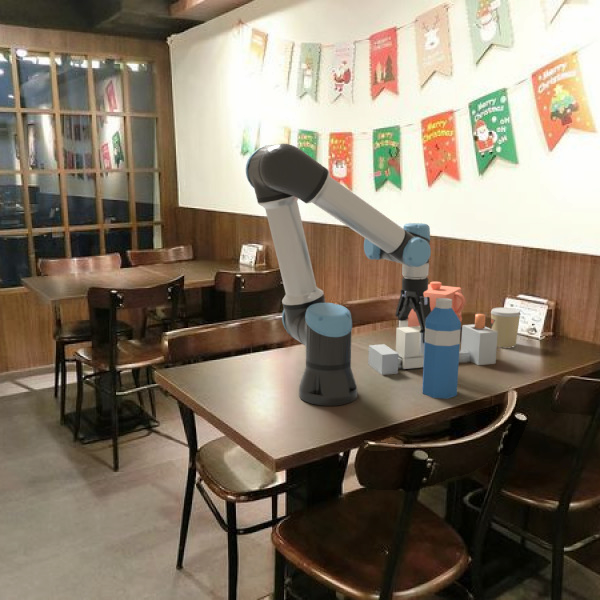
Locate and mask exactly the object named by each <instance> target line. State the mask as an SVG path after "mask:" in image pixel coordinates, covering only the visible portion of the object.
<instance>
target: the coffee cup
mask: <svg viewBox="0 0 600 600" xmlns="http://www.w3.org/2000/svg"><path fill="white" fill-rule="evenodd" d="M520 311H521V310H519V309H516V308H513V307H494V308H492V309H491V311H490V314H491V316H490V317H491V318H490V319H491V320H490V324H491V325H490V326H491V327H490V329H492V330H495V331H497V332H498V335H497V346H500V347H512V346H515V347H516V345H517V344H516V343H517V338H518V333H519V332H518V331H519V325H520V317H521V312H520ZM500 347H499V348H500Z"/></svg>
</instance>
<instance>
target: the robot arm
mask: <svg viewBox="0 0 600 600" xmlns="http://www.w3.org/2000/svg"><path fill="white" fill-rule="evenodd" d="M245 175H246V176H245V177H246V178H247V179H246V180H247V181H248V183H249V184H250V186H251V187H252V188H253V190H254V193H255V197H256V200H257V204H258V205H260V206H261V207H263V208H264V210H265V213H266V217H267V221H268V225H269V229H270V234H271V239H272V242H273V247H274V251H275V255H276V259H277V264H278V267H279V268H278V269H279V270H280V275H281V280H282V283H283V288H284V292H285V295H284V297H283V298H282V300H281V302H282V303H281V304H282V306H283V310H282V314H281V319H282V320H281V321H282V325H283V327H284V329H285V330H286V333H287V334H288V335H289V336H290V337H291V338H292V339H295V340H296V341H298V342H299V343H301V344H302V345H303V346H305V368H304V371H303V372H302V373H303V374H302V377H301V379H300V383H299V386H298V396H299V398H300V399H301V400H302V401H303V402H306V403H308V404H311V405H317V406H324V407H325V406H326V407H331V406H332V407H333V406H342V405H347V404H349V403H352V402H354V401H355V400H356V399H357V398H358V386H357V384H356V379H355V376H354V374H353V370H352V336H353V335H352V333H353V332H352V330H353V319H352V313H351V311H350V310H349V309H348V308H347V307H345V306H343V305H341V304H336V303H332V302H327V301H326V297H325V293H324V290H323V289H321V288H319V287H318V286H317V283H316V279H315V274H314V270H313V265H312V261H311V256H310V252H309V248H308V242H307V239H306V234H305V230H304V226H303V221H302V216H301V213H300V207H299V203H298V200H300V201H302V202H303V203H304V204H311V203H312V204H314V205H315V206H316V207H318V208H320V209H321V210H322V211H323V212H325V213H327V214H329V215H330V216H331V217H333V218H334V219H336V220H337V221H339V222H340V223H341V224H343V225H345V226H346V227H348V228H349V229H351V230H352V231H354V232H355V233H356V234H358V235H360V236H361V237H363V238H364V241H363V251H364V255H365V256H366V258H367V259H368V260H372V261H373V260H377V261H379V260H387V261H390V262H393V263H398V264H401V265H402V266H401V267H402V268H401V271H402V272H401V274H402V275H401V276H403V277H402V279H401V289H400V294H399V295H400V297H399V300H398V303H397V308H396V311H395V317H396V318H397V319H398V328H400V327H408V320H407V319H408V315H409V313H410V311H411V310H412V309H413V310H414V312H416V315H417V318H418V321H419V324H420V327H421V330H420V331H419V332H420V341H419V354H424V342H425V320H426V317H427V316H428V315H429V314H430V312H431V308H430V298H429V297H424V294H423V293H424V292H425V291H427V290H428V284H429V278H428V276H429V268H430V264H429V263H430V258H431V256H432V255H431V253H432V250H431V244H430V243H431V229H430V228H431V227H430V226H429V224H427V223H422V222H421V223H419V222H417V223H415V222H414V223H411V222H410V223H405V224H404V225H403V227H401V226H400V225H399V224H397V222H394V221H393V220H392V219H390V218H389V217H387V216H386V215H384V214H383V213H382V212H380V211H379V210H377V208H376V207H373V206H372V205H371V204H369V202H366V201H365V200H364V199H362V198H361V197H360V196H358V195H357V194H356V193H354V192H352V191H351V190H349V189H348V188H347V187H346V186H344V185H343V184H341V183H340V182H339V181H338V180H335V179H334V178H333V177H332V176H330V171H329V169H327V168H326V167H325V166H324V165H322V164H321V163H319V162H318V161H317V160H316V159H314V158H313V157H312V156H310V155H309V154H308V153H306V152H304V151H303V150H302V149H300V148H299V147H297V146H295V145H292V144H290V143H277V144H269V145H263V146H261V147H259V148H257V149H255V151H253V152H252V153H251V154H250V156H249V157H248V159H247V161H246V165H245Z"/></svg>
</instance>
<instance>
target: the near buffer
mask: <svg viewBox="0 0 600 600" xmlns="http://www.w3.org/2000/svg"><path fill="white" fill-rule="evenodd" d="M367 359H368V360H367V361H368V362H367V363H368V366H370V367H371V368H372V369H374V370H375V371H376V372H377V373H378V374H379V375H382V376H386V375H393V374H398V373H399V369H398V353H397V352H396V350H394V349H392V348H391V347H389V346H388V345H386V344H385V343H383V344H369V345H368V358H367Z"/></svg>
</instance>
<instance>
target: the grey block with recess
mask: <svg viewBox="0 0 600 600" xmlns="http://www.w3.org/2000/svg"><path fill="white" fill-rule="evenodd" d="M497 335H498V332H497V331H495V330H492V329H491V327H487V326H485V328H484V329H478V328H475V323H474V324H473V323H472V324H463V325H462V324H461V338H460V351H463V350H467V351H469V352H470V362H471V363H473V364H475V365H477V366H486V365H494V364H496V362H497V348H498V347H497Z"/></svg>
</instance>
